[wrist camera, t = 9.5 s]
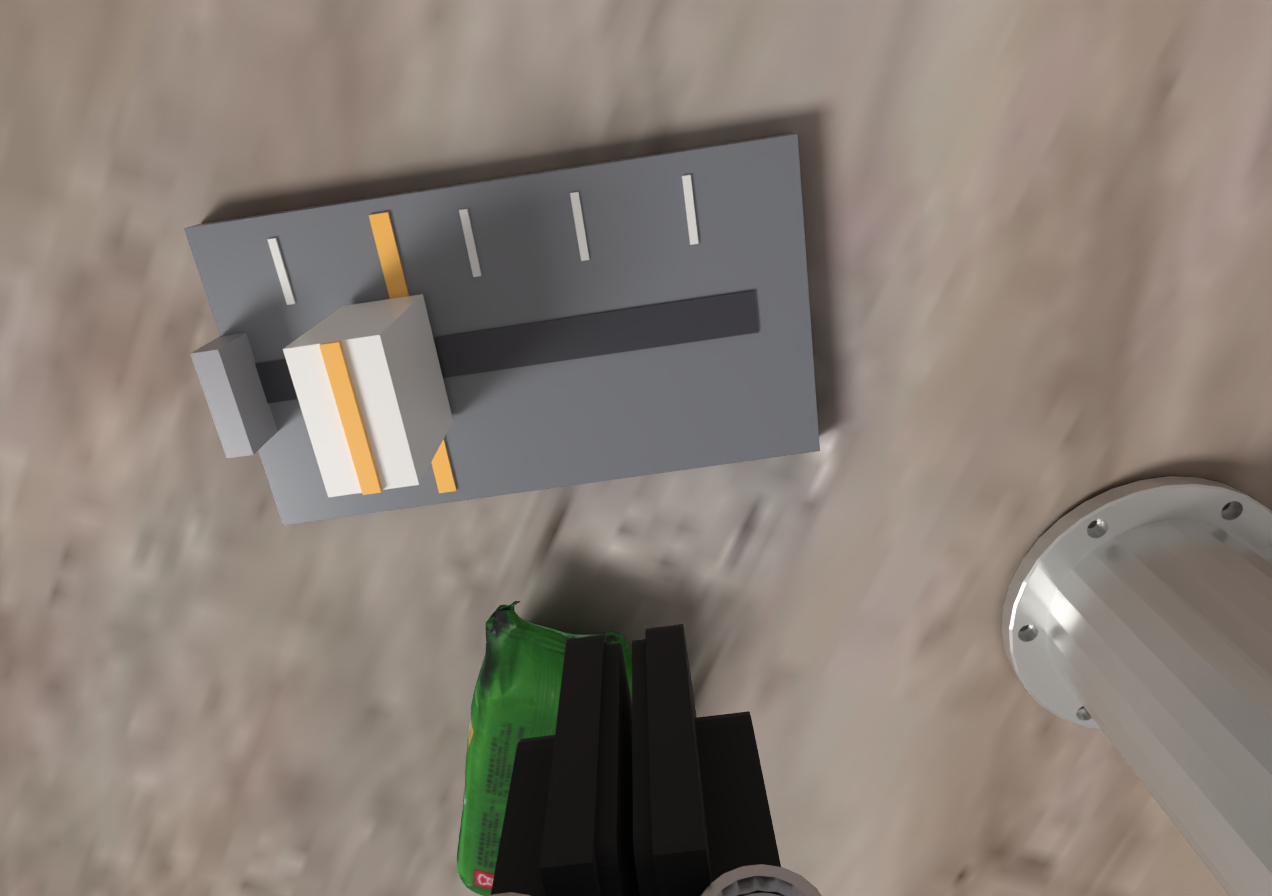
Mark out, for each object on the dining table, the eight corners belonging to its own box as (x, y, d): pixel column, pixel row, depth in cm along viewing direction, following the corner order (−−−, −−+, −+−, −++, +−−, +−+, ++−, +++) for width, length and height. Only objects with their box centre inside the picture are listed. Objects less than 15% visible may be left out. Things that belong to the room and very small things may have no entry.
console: (791, 132, 31) (811, 136, 28) (813, 439, 35) (833, 474, 32) (199, 224, 32) (149, 238, 28) (293, 512, 36) (260, 553, 33)
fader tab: (422, 294, 31) (378, 336, 26) (453, 421, 33) (417, 487, 27) (342, 306, 31) (280, 351, 26) (377, 432, 33) (326, 500, 28)
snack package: (655, 593, 38) (658, 663, 33) (601, 856, 44) (597, 949, 39) (496, 570, 38) (476, 638, 33) (462, 839, 43) (440, 931, 38)
